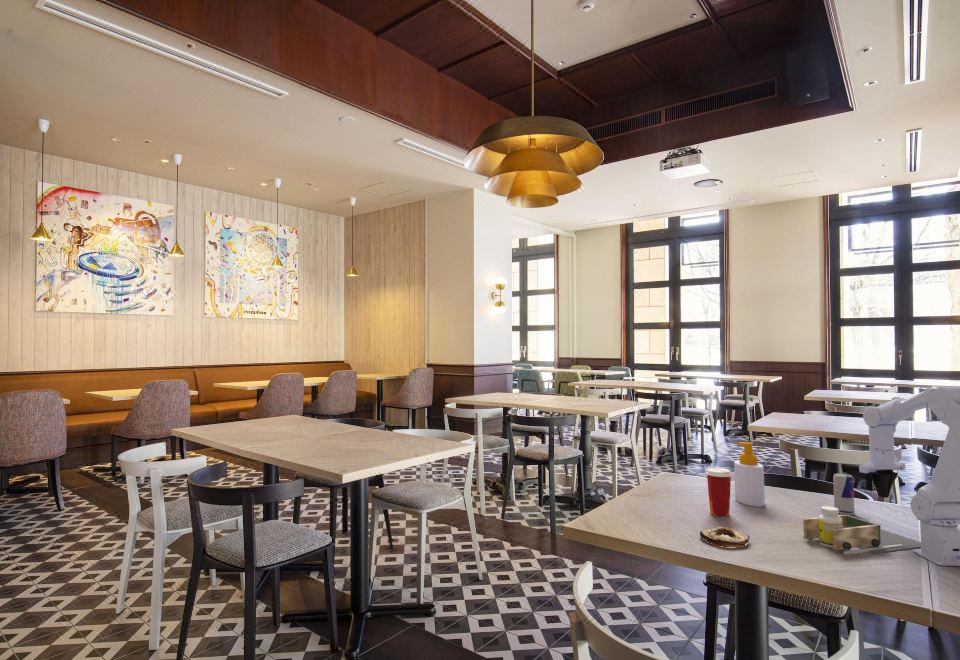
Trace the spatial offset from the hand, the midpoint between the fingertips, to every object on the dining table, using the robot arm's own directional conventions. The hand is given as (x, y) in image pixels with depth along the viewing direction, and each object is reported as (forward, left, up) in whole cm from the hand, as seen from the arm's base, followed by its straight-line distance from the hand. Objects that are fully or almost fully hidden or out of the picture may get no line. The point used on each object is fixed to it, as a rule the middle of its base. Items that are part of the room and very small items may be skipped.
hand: (883, 496), depth 154 cm
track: (-7, +10, -10) cm, 16 cm away
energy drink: (+20, 0, -11) cm, 23 cm away
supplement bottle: (-10, +20, -11) cm, 25 cm away
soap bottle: (+31, +25, -11) cm, 41 cm away
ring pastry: (-9, +47, -11) cm, 49 cm away
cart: (-9, +17, -10) cm, 21 cm away
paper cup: (+16, +40, -11) cm, 44 cm away
